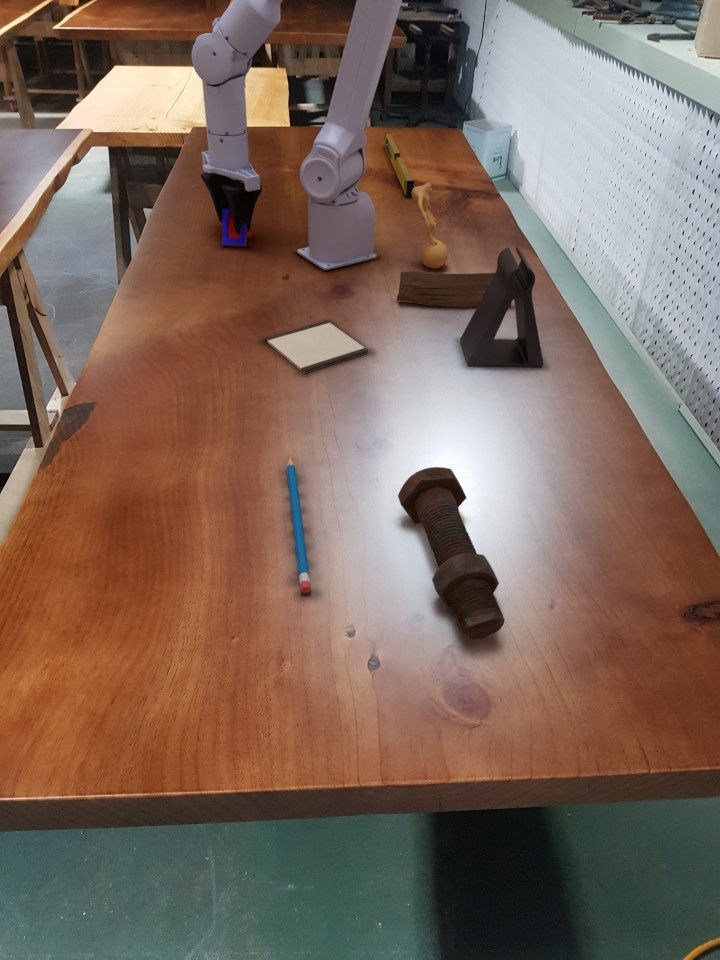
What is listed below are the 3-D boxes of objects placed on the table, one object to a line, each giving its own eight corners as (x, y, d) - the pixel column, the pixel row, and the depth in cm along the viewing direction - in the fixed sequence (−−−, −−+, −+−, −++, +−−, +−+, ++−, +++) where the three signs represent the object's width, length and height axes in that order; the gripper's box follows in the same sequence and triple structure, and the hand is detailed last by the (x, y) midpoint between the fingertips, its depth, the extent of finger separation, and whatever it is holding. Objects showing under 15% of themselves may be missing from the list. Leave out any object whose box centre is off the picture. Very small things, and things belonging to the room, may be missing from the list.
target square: (327, 323, 90) (326, 320, 90) (368, 353, 85) (368, 350, 85) (264, 341, 86) (264, 337, 86) (304, 373, 81) (304, 370, 80)
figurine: (446, 279, 102) (457, 193, 95) (404, 276, 102) (411, 190, 95) (445, 257, 109) (455, 175, 101) (406, 254, 109) (413, 172, 101)
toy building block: (250, 249, 112) (251, 196, 111) (245, 245, 108) (246, 189, 106) (228, 248, 112) (228, 195, 111) (222, 244, 108) (222, 189, 107)
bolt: (466, 662, 53) (416, 521, 64) (528, 633, 52) (467, 496, 63) (437, 624, 49) (389, 482, 60) (503, 593, 48) (442, 454, 59)
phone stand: (531, 342, 88) (551, 248, 81) (542, 367, 84) (565, 269, 76) (459, 341, 88) (473, 246, 80) (466, 366, 83) (481, 267, 76)
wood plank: (508, 303, 97) (514, 268, 94) (511, 310, 96) (518, 274, 92) (396, 301, 96) (399, 266, 93) (397, 308, 95) (400, 272, 91)
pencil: (300, 593, 55) (300, 587, 55) (285, 459, 68) (285, 453, 68) (311, 592, 55) (311, 586, 55) (293, 459, 68) (293, 453, 68)
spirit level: (412, 198, 130) (414, 180, 128) (405, 197, 130) (406, 180, 128) (390, 147, 156) (391, 132, 154) (384, 147, 155) (384, 132, 154)
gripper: (179, 122, 104) (190, 216, 113) (225, 146, 95) (232, 246, 104) (223, 117, 108) (230, 208, 116) (271, 140, 99) (274, 237, 107)
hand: (234, 226), depth 110 cm, fingers closed on toy building block, 5 cm apart
